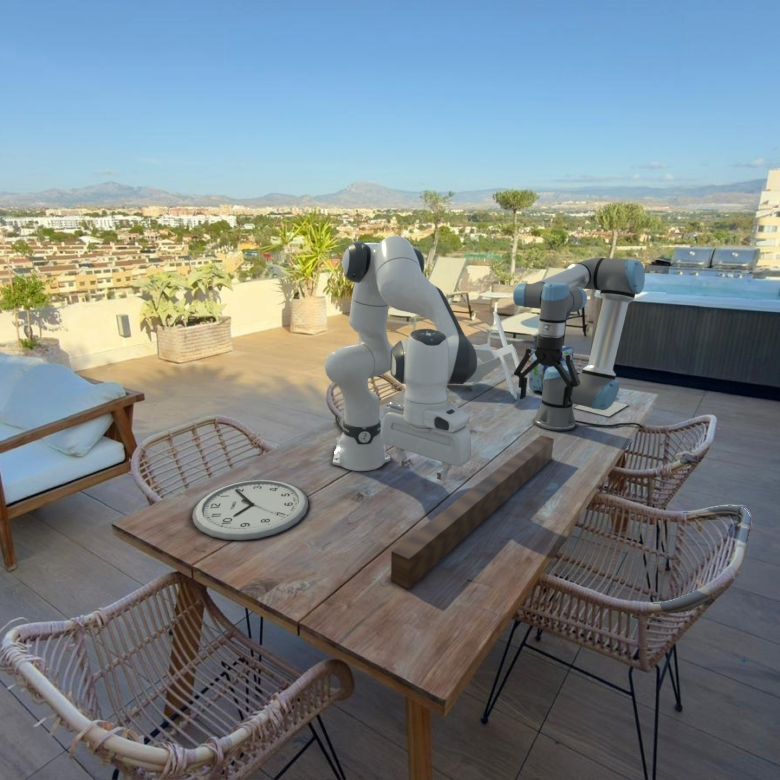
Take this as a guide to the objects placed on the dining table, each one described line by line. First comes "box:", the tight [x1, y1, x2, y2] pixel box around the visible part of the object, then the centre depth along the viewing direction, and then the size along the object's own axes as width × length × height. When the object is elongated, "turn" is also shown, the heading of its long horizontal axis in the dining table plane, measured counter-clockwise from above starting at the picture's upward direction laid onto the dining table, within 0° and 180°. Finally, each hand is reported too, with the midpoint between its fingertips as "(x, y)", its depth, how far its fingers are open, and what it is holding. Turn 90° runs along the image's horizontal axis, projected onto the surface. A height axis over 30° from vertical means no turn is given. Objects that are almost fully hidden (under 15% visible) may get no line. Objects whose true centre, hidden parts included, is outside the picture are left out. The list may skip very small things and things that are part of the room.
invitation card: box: [573, 401, 629, 418], centre depth 226 cm, size 21×1×15 cm
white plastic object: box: [447, 310, 531, 400], centre depth 245 cm, size 37×45×31 cm
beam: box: [390, 434, 555, 590], centre depth 142 cm, size 83×5×7 cm, turn 143°
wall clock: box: [191, 479, 309, 541], centre depth 140 cm, size 30×2×30 cm
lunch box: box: [528, 345, 574, 393], centre depth 247 cm, size 26×11×21 cm, turn 134°
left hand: (422, 472), depth 110 cm, fingers open, 8 cm apart
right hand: (543, 402), depth 163 cm, fingers open, 13 cm apart
